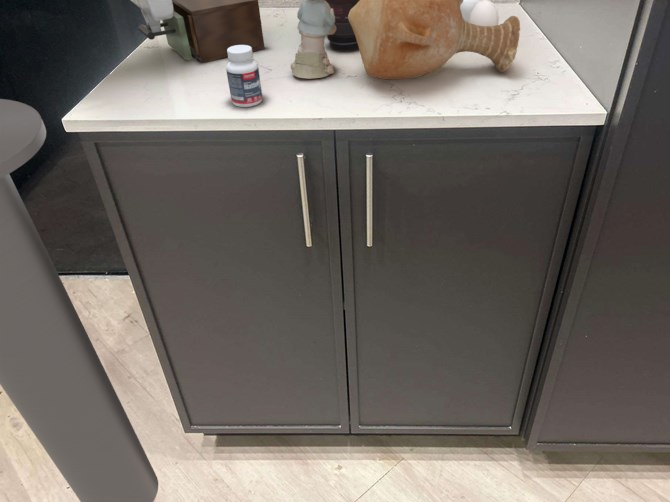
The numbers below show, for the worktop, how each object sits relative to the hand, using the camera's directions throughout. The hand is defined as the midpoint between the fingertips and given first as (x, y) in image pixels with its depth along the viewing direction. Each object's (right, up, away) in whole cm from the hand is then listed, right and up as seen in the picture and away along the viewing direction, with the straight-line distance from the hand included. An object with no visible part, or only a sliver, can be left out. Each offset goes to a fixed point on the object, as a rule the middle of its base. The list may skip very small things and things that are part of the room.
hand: (155, 33), depth 111 cm
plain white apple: (+64, +10, +19) cm, 67 cm away
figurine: (+31, -9, -3) cm, 33 cm away
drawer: (+6, -1, +6) cm, 8 cm away
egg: (+65, +3, +10) cm, 66 cm away
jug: (+53, -10, -5) cm, 54 cm away
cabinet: (+11, +1, +9) cm, 14 cm away
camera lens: (+37, 0, +8) cm, 38 cm away
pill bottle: (+21, -18, -13) cm, 30 cm away
